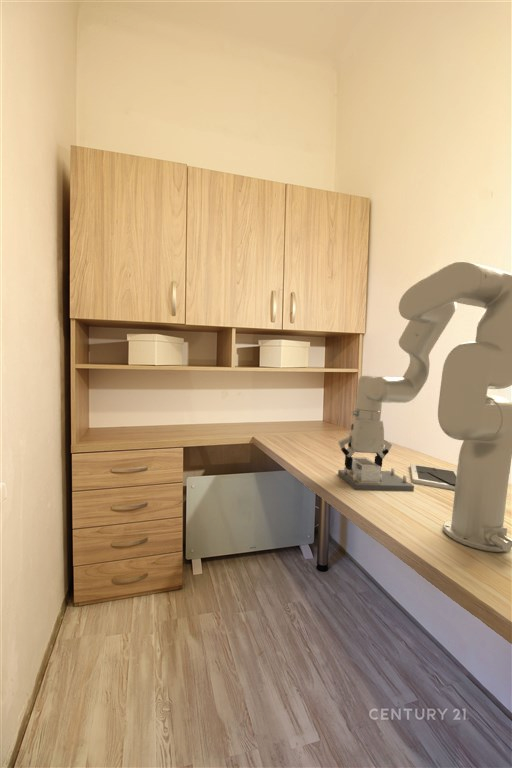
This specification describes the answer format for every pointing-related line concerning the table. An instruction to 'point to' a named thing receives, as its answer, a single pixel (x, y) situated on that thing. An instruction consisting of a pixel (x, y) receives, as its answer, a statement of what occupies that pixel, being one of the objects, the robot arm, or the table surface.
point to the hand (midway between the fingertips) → (362, 469)
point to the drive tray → (386, 482)
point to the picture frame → (433, 476)
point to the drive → (365, 470)
